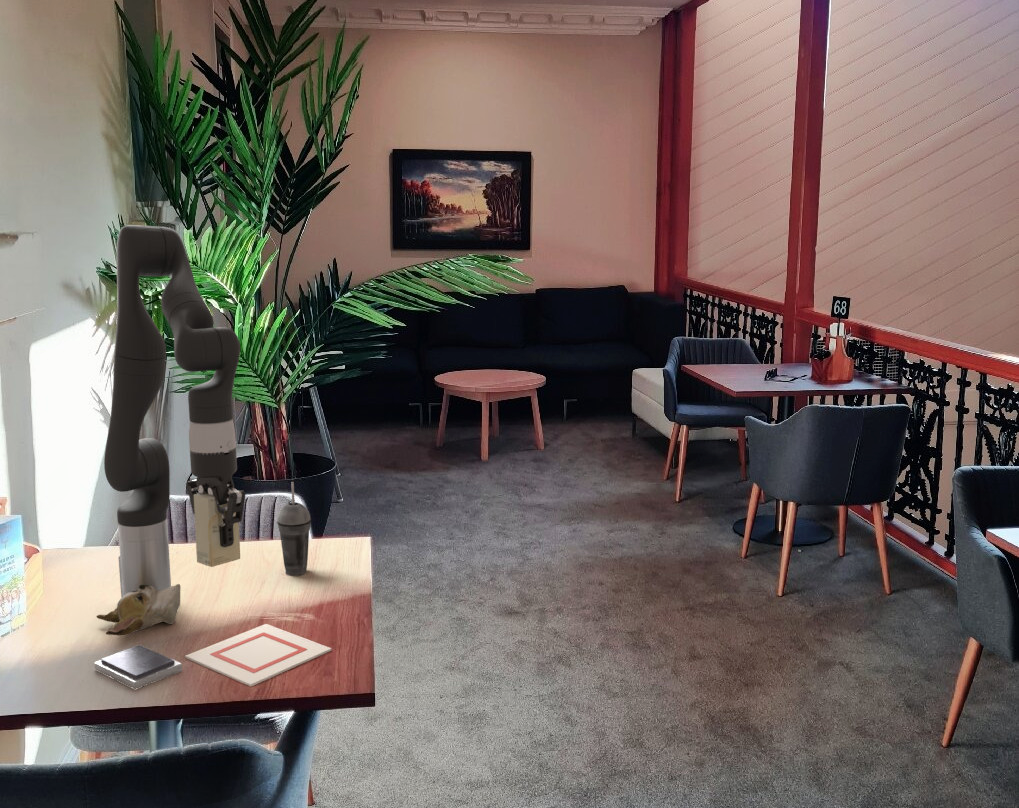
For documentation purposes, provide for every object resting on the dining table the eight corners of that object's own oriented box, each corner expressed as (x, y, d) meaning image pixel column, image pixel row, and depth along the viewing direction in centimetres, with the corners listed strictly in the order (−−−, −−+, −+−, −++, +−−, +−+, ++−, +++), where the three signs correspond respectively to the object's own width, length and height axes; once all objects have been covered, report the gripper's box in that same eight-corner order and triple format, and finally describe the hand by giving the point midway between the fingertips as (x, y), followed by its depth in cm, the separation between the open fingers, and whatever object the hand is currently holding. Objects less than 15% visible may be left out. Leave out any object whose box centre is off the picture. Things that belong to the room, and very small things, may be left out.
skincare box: (211, 568, 174) (207, 498, 171) (195, 562, 176) (191, 494, 174) (242, 558, 178) (238, 491, 176) (226, 553, 181) (223, 486, 179)
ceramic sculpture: (186, 584, 192) (102, 604, 185) (191, 627, 194) (108, 649, 187) (172, 568, 201) (91, 586, 194) (177, 609, 203) (97, 629, 196)
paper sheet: (185, 657, 181) (185, 655, 181) (266, 625, 195) (266, 623, 195) (250, 686, 171) (250, 683, 171) (331, 650, 185) (331, 647, 185)
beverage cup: (279, 579, 220) (276, 488, 216) (278, 568, 227) (274, 480, 223) (314, 576, 222) (311, 486, 218) (311, 565, 229) (308, 478, 225)
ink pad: (94, 670, 176) (94, 659, 176) (141, 652, 184) (140, 642, 183) (135, 690, 169) (134, 678, 169) (181, 670, 176) (181, 660, 176)
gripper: (169, 444, 175) (175, 540, 178) (219, 456, 166) (225, 557, 169) (206, 436, 181) (212, 530, 184) (257, 448, 172) (262, 546, 175)
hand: (218, 542), depth 177 cm, fingers closed on skincare box, 4 cm apart
